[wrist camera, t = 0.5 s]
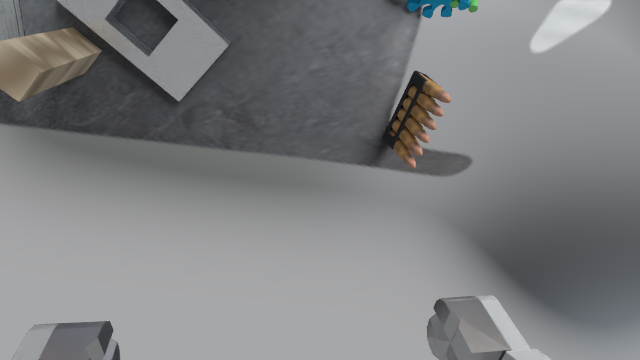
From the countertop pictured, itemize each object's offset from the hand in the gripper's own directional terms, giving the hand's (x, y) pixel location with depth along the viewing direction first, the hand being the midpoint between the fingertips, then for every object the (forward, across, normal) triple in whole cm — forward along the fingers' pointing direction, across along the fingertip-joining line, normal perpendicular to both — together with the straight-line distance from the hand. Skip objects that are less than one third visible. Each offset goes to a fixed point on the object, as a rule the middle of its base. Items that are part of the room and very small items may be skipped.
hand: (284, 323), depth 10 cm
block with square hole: (+47, +14, +2) cm, 49 cm away
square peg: (+48, +23, +6) cm, 53 cm away
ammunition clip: (+44, -21, +11) cm, 50 cm away
